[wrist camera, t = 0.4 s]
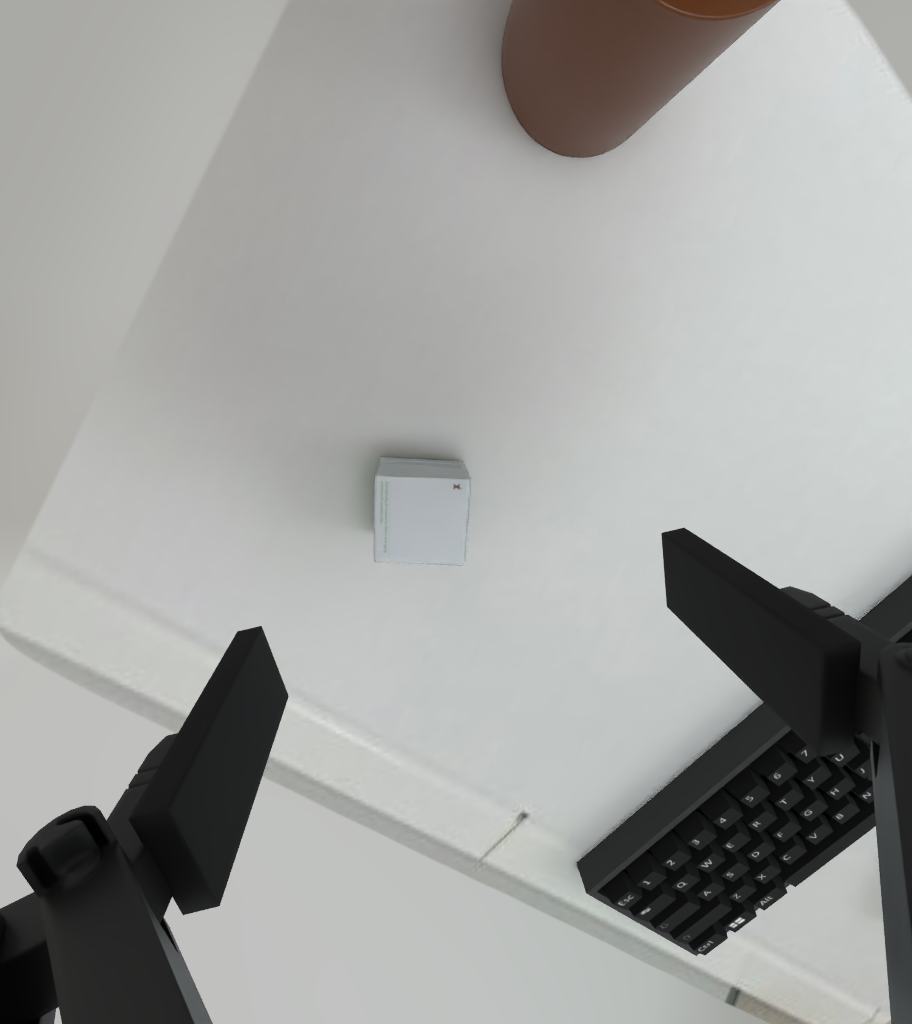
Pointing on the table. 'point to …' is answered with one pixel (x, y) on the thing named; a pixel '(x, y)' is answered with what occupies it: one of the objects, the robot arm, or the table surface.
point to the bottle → (610, 62)
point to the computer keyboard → (740, 823)
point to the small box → (421, 511)
